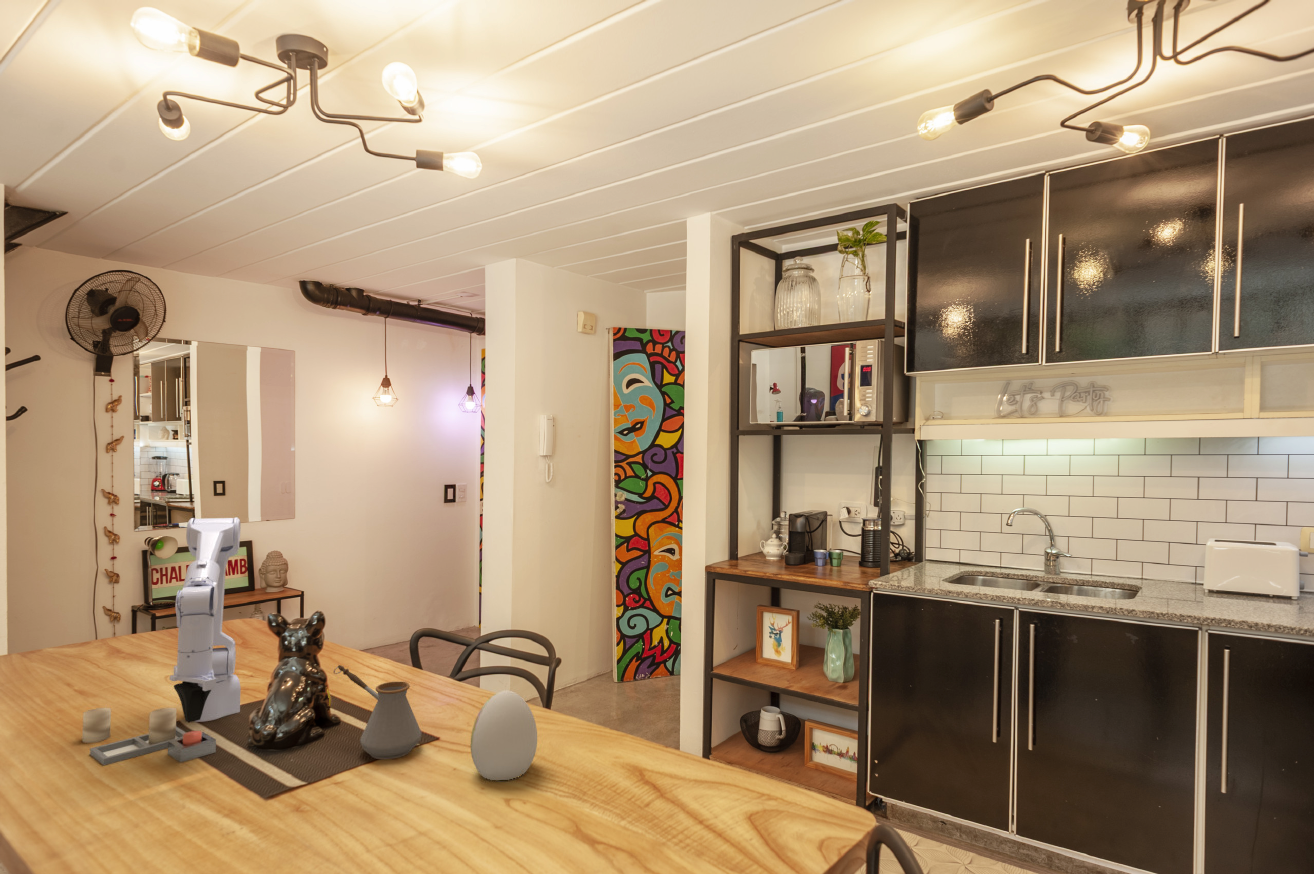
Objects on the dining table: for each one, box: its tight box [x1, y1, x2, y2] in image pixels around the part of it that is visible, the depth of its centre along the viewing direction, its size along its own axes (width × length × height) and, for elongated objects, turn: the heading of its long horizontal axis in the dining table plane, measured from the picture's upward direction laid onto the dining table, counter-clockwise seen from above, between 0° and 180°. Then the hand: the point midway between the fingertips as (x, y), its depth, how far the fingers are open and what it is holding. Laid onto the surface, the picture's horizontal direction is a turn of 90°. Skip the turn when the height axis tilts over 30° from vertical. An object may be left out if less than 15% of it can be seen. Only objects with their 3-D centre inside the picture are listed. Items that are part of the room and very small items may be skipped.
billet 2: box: [148, 707, 177, 745], centre depth 143 cm, size 4×4×6 cm
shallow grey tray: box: [89, 726, 187, 766], centre depth 140 cm, size 14×8×2 cm, turn 143°
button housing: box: [167, 731, 217, 763], centre depth 138 cm, size 6×6×4 cm
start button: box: [183, 730, 203, 746], centre depth 138 cm, size 3×3×2 cm
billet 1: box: [81, 707, 112, 744], centre depth 144 cm, size 4×4×6 cm
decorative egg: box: [470, 689, 538, 781], centre depth 135 cm, size 12×12×15 cm
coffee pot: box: [333, 664, 422, 760], centre depth 146 cm, size 21×12×15 cm, turn 65°
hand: (192, 720), depth 138 cm, fingers closed
